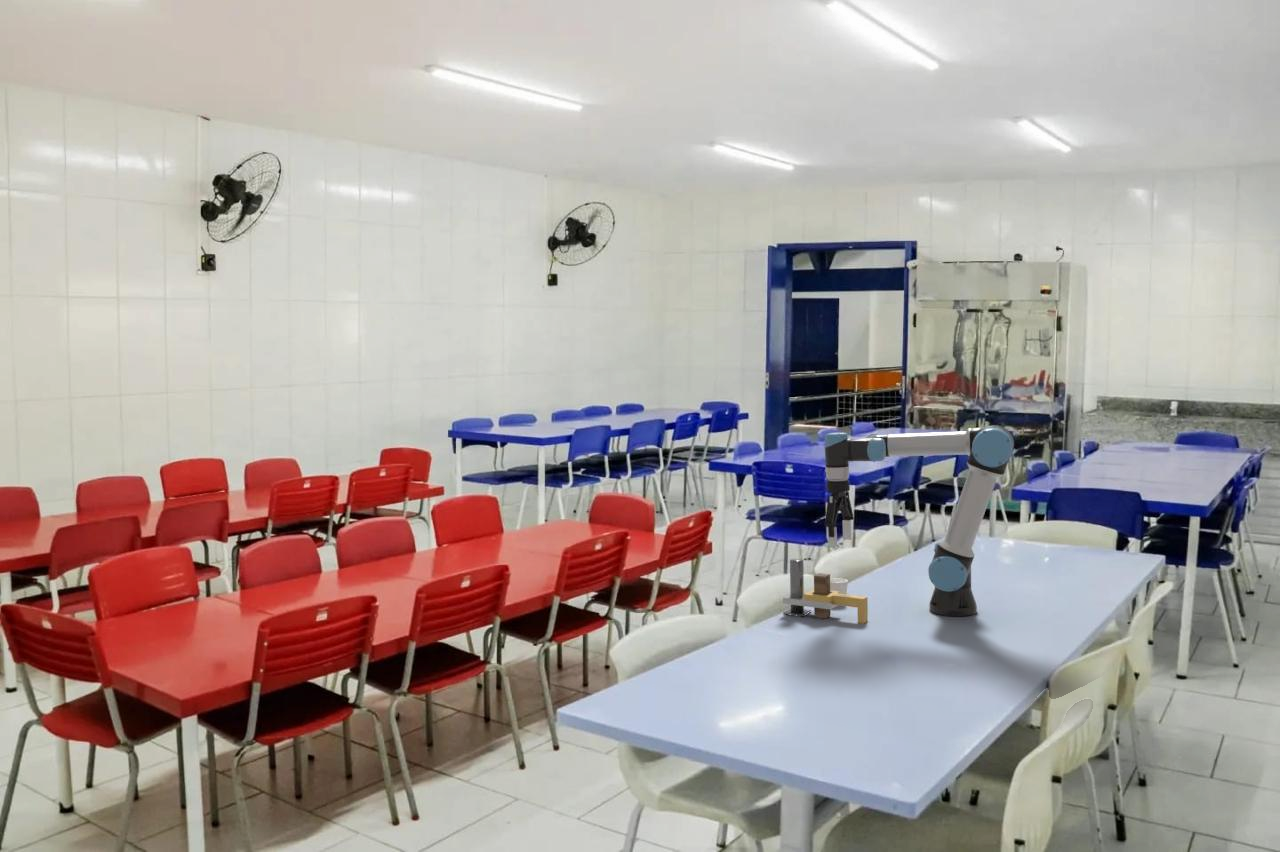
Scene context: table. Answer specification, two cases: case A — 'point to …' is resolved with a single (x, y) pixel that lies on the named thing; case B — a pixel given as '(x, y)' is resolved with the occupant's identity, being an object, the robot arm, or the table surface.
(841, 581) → the cup
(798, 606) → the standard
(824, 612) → the pin
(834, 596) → the bracket
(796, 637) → the table surface
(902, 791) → the table surface
